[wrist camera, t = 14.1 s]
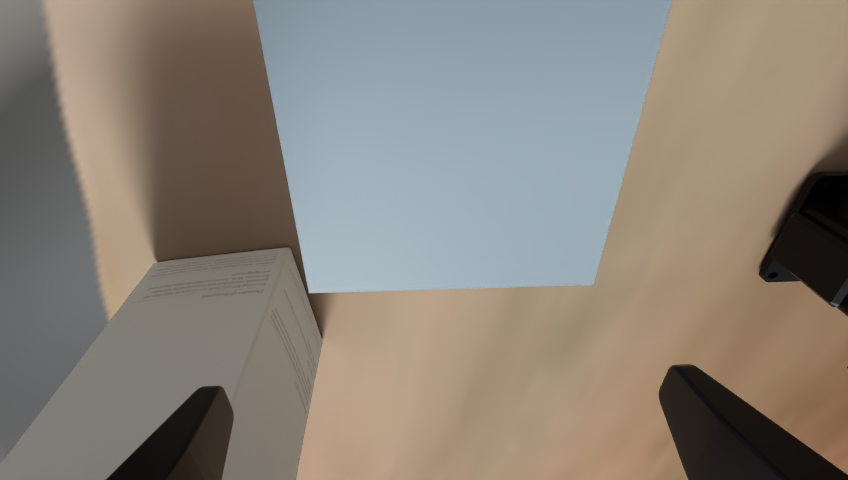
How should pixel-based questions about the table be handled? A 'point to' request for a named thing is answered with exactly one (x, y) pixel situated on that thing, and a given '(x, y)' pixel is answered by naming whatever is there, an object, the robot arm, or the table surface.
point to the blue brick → (456, 135)
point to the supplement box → (187, 370)
